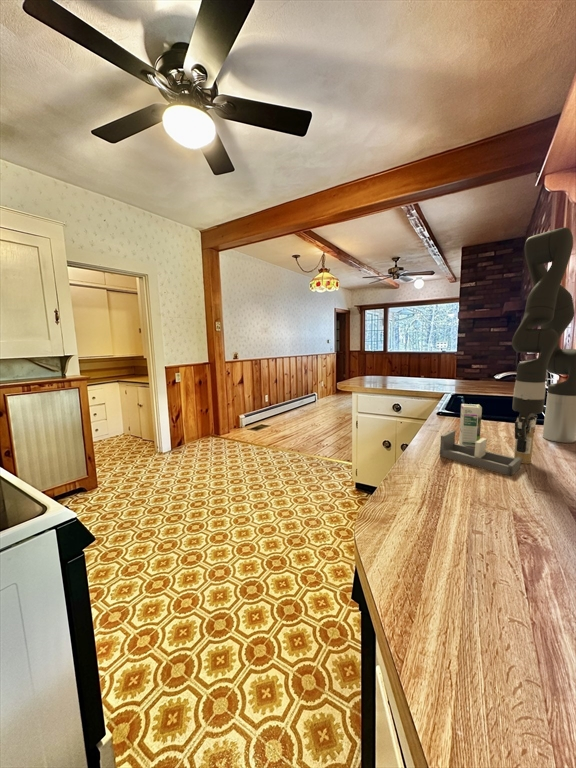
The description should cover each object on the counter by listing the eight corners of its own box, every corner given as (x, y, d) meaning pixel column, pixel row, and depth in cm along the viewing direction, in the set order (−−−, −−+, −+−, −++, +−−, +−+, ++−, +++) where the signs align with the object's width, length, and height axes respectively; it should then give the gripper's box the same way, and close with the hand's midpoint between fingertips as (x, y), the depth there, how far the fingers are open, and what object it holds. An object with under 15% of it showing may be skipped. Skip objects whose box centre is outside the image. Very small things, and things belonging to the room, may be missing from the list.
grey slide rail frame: (451, 449, 109) (452, 430, 108) (520, 467, 93) (522, 445, 92) (439, 455, 103) (440, 435, 102) (511, 476, 88) (513, 452, 87)
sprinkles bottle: (533, 461, 97) (538, 419, 95) (527, 465, 95) (532, 422, 93) (516, 457, 101) (520, 416, 99) (510, 460, 98) (514, 419, 96)
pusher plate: (481, 453, 100) (482, 437, 99) (485, 454, 99) (486, 438, 98) (474, 458, 96) (475, 442, 96) (478, 459, 96) (479, 443, 95)
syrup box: (460, 446, 112) (463, 406, 109) (458, 440, 117) (461, 402, 115) (479, 447, 110) (482, 407, 107) (476, 442, 115) (479, 403, 113)
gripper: (520, 391, 102) (515, 441, 105) (506, 397, 93) (501, 452, 96) (550, 394, 96) (544, 447, 99) (538, 401, 87) (531, 459, 90)
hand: (523, 449), depth 97 cm, fingers closed on sprinkles bottle, 4 cm apart
